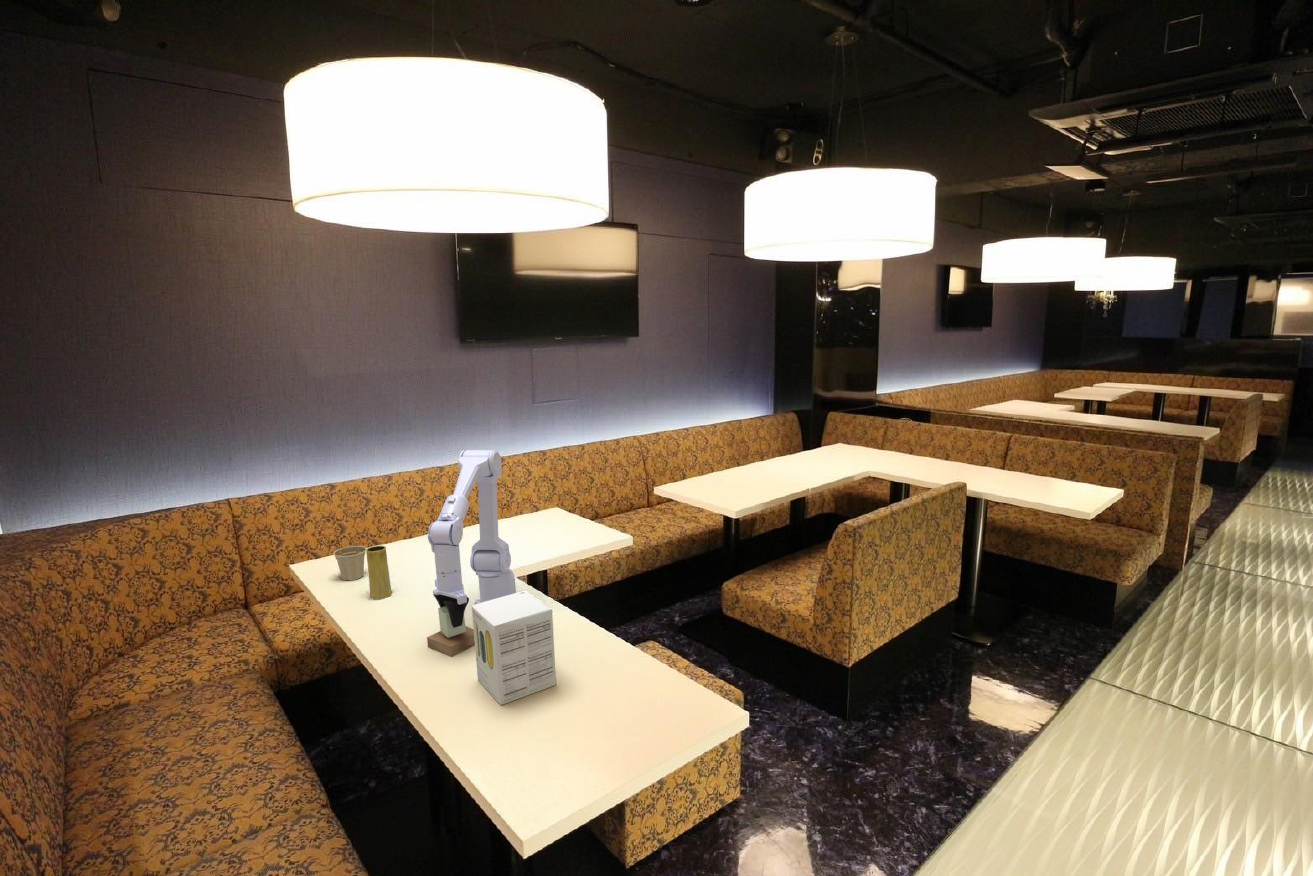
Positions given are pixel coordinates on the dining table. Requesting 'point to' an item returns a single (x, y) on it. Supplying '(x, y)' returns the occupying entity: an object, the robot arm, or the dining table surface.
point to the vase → (378, 572)
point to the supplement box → (514, 646)
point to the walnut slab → (451, 642)
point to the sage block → (449, 623)
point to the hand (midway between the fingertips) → (453, 622)
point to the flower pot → (351, 562)
